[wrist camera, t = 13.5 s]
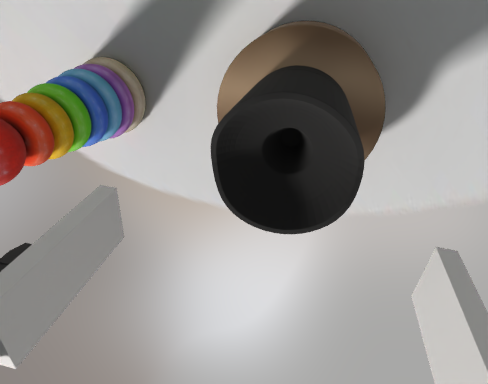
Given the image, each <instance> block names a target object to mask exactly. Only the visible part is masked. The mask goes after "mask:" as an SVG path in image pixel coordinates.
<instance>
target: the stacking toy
mask: <svg viewBox="0 0 488 384" xmlns="http://www.w3.org/2000/svg"><path fill="white" fill-rule="evenodd" d="M144 112H145V96H144V92H143V89H142V86H141V84H140V82H139V81H138V79H137V77H136V76H135V75H134V74H133V73H132V71H131V70H130V69H129V68H127V67H126V66H125V65H124V64H122V63H120V62H118V61H117V60H114V59H111V58H106V57H98V58H93V59H90V60H88V61H87V62H85V63H84V64H83V65H80V66H77V67H76V68H74V69H71V70H67V71H65V72H63V73H62V74H60V75H59V76H58V77H55V78H53V79H51V80H49V81H48V82H46V83H45V84H40V85H37V86H35V87H33V88H31V89H30V90H29V91H28V92H27V93H24V94H21V95H19V96H17V97H16V98H14V99H13V100H12V101H8V102H2V103H0V185H3V184H5V183H7V182H9V181H11V180H12V179H13V178H14V177H16V176H17V175H18V174H19V172H20V171H21V169H22V168H23V166H36V165H40V164H42V163H44V162H45V161H46V160H48V159H56V158H59V157H61V156H63V155H65V154H66V153H67V152H71V151H75V150H77V149H79V148H81V147H86V146H91V145H93V144H95V143H97V142H99V141H104V140H106V139H108V138H115V137H118V136H120V135H121V134H123V133H126V132H128V131H131V130H133V129H134V128H135V127H136V126H138V124H139V123H140V122H141V120H142V118H143V116H144Z"/></svg>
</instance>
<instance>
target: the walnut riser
mask: <svg viewBox="0 0 488 384" xmlns="http://www.w3.org/2000/svg"><path fill="white" fill-rule="evenodd" d="M295 65H300V66H309V67H313V68H316V69H319V70H321V71H323V72H325V73H326V74H328V75H329V76H331V77H332V78H333V79H334V80H335V81H336V82H337V83H338V84H339V85H340V87H341V88H342V90H343V91H344V93H345V95H346V97H347V100H348V102H349V105H350V107H351V110H352V113H353V116H354V119H355V123H356V126H357V129H358V132H359V135H360V138H361V142H362V145H363V149H364V160H365V159H366V158H367V157H368V155H369V154H370V153H371V151H372V150H373V148H374V146H375V145H376V143H377V141H378V139H379V136H380V133H381V131H382V127H383V123H384V118H385V95H384V90H383V85H382V82H381V79H380V76H379V74H378V72H377V70H376V68H375V66H374V65H373V63H372V61H371V59H370V58H369V56H368V54H367V53H366V52H365V50H364V49H363V48H362V46H361V45H360V44H359V43H358V42H357V41H356V40H355V39H354V38H353V37H352V36H350V35H349V34H347V33H346V32H345V31H343V30H341V29H339V28H337V27H335V26H332V25H329V24H326V23H322V22H316V21H297V22H291V23H287V24H283V25H281V26H278V27H276V28H274V29H272V30H270V31H268V32H267V33H265V34H263V35H262V36H260V37H259V38H257V39H256V40H254V41H253V42H251V43H250V44H249V45H248V46H246V47H245V48H244V49H243V50H242V51H241V52H240V53H239V54H238V55H237V56H236V58H235V59H234V60H233V62H232V63H231V65H230V66H229V68H228V70H227V71H226V73H225V75H224V78H223V80H222V83H221V86H220V90H219V94H218V103H217V117H218V123H219V122H220V121H221V120H222V118H223V117H224V116H225V115H226V114H227V113H228V112H229V111H230V110H231V109H232V108H233V107H234V106H235V105H236V104H237V103H238V102H239V101H240V100H241V99H242V98H243V97H244V96H245V95H246V94H247V93H248V92H249V91H250V90H251V89H252V88H253V87H254V86H255V85H256V84H257V83H258V82H259V81H260V80H261V79H263V78H264V77H265V76H267V75H268V74H270V73H271V72H273V71H275V70H278V69H280V68H283V67H287V66H295Z"/></svg>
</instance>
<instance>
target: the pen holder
mask: <svg viewBox="0 0 488 384" xmlns="http://www.w3.org/2000/svg"><path fill="white" fill-rule="evenodd" d="M211 159H212V166H213V173H214V177H215V182H216V185H217V188H218V191H219V193H220V196H221V198H222V200H223V201H224V203H225V204H226V206H227V207H228V208H229V209H230V210H231V211H232V212H233V214H235V215H236V216H237V217H239V218H240V219H241V220H243V221H244V222H246V223H248V224H250V225H252V226H254V227H256V228H259V229H262V230H265V231H269V232H273V233H280V234H300V233H306V232H311V231H314V230H318V229H321V228H323V227H325V226H328V225H329V224H331V223H333V222H334V221H336V220H337V219H338V218H339V217H341V216H342V215H343V214H344V213H345V212H346V210H347V209H348V208H349V207H350V205H351V203H352V202H353V200H354V198H355V196H356V194H357V191H358V189H359V186H360V183H361V179H362V175H363V170H364V149H363V145H362V142H361V138H360V135H359V132H358V129H357V126H356V123H355V119H354V116H353V113H352V110H351V107H350V105H349V102H348V100H347V97H346V95H345V93H344V91H343V90H342V88H341V87H340V85H339V84H338V83H337V82H336V81H335V80H334V79H333V78H332V77H331V76H329V75H328V74H326V73H325V72H323V71H321V70H319V69H316V68H313V67H309V66H300V65H295V66H287V67H283V68H280V69H278V70H275V71H273V72H271V73H270V74H268V75H267V76H265V77H264V78H263V79H261V80H260V81H259V82H258V83H257V84H256V85H255V86H254V87H253V88H252V89H251V90H250V91H249V92H248V93H247V94H246V95H245V96H244V97H243V98H242V99H241V100H240V101H239V102H238V103H237V104H236V105H235V106H234V107H233V108H232V109H231V110H230V111H229V112H228V113H227V114H226V115H225V116H224V117H223V118H222V120H221V121H220V122H219V124H218V125H217V127H216V129H215V131H214V133H213V136H212V141H211Z"/></svg>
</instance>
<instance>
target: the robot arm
mask: <svg viewBox="0 0 488 384" xmlns="http://www.w3.org/2000/svg"><path fill="white" fill-rule="evenodd" d="M123 238H124V233H123V226H122V220H121V214H120V207H119V200H118V194H117V188H114V187H108V186H103V185H100V186H99V187H98V188H96V189H95V190H94V191H93V192H92V193H91V194H90V195H88V196H87V197H86V198H85V199H84V200H83V201H82V202H80V203H79V204H78V205H77V206H76V207H75V208H74V209H72V210H71V211H70V212H69V213H68V214H67V215H65V216H64V217H63V218H62V219H61V220H60V221H58V222H57V223H56V224H55V225H54V226H53V227H52V228H50V229H49V230H48V231H47V232H46V233H45V234H44V235H42V236H41V237H40V238H39V239H38V240H37V241H35V242H34V243H33V244H28V243H24V244H22V245H20V246H19V247H16V248H14V249H12V250H10V251H9V252H8V253H6V254H5V255H4V256H3V257H2V258H0V365H3V366H7V367H11V368H14V369H17V367H18V366H19V365H20V364H21V363H22V361H23V360H24V359H25V357H26V356H27V355H28V354H29V353H30V351H31V350H32V349H33V348H34V347H35V345H36V344H37V343H38V342H39V340H40V339H41V338H42V337H43V336H44V334H45V333H46V332H47V331H48V330H49V328H50V327H51V326H52V325H53V323H54V322H55V321H56V320H57V319H58V317H59V316H60V315H61V314H62V312H63V311H64V310H65V309H66V308H67V306H68V305H69V304H70V302H71V301H72V300H73V299H74V298H75V297H76V295H77V294H78V293H79V292H80V290H81V289H82V288H83V287H84V285H85V284H86V283H87V282H88V281H89V279H90V278H91V277H92V276H93V275H94V273H95V272H96V271H97V270H98V268H99V267H100V266H101V265H102V263H103V262H104V261H105V260H106V259H107V257H108V256H109V255H110V254H111V253H112V251H113V250H114V249H115V248H116V246H117V245H118V244H119V243H120V242H121V240H122V239H123ZM411 297H412V300H413V304H414V308H415V312H416V315H417V319H418V323H419V327H420V330H421V334H422V338H423V341H424V345H425V349H426V353H427V356H428V360H429V364H430V368H431V371H432V375H433V378H434V382H435V384H488V312H487V310H486V308H485V306H484V304H483V302H482V300H481V298H480V296H479V294H478V292H477V290H476V288H475V286H474V284H473V282H472V280H471V277H470V275H469V274H468V271H467V269H466V267H465V265H464V263H463V261H462V259H461V257H460V255H459V253H458V251H455V250H450V249H444V248H439V247H436V248H435V250H434V252H433V254H432V256H431V258H430V260H429V262H428V264H427V266H426V268H425V270H424V272H423V274H422V276H421V278H420V280H419V282H418V284H417V286H416V288H415V290H414V292H413V294H412V296H411Z"/></svg>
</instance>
